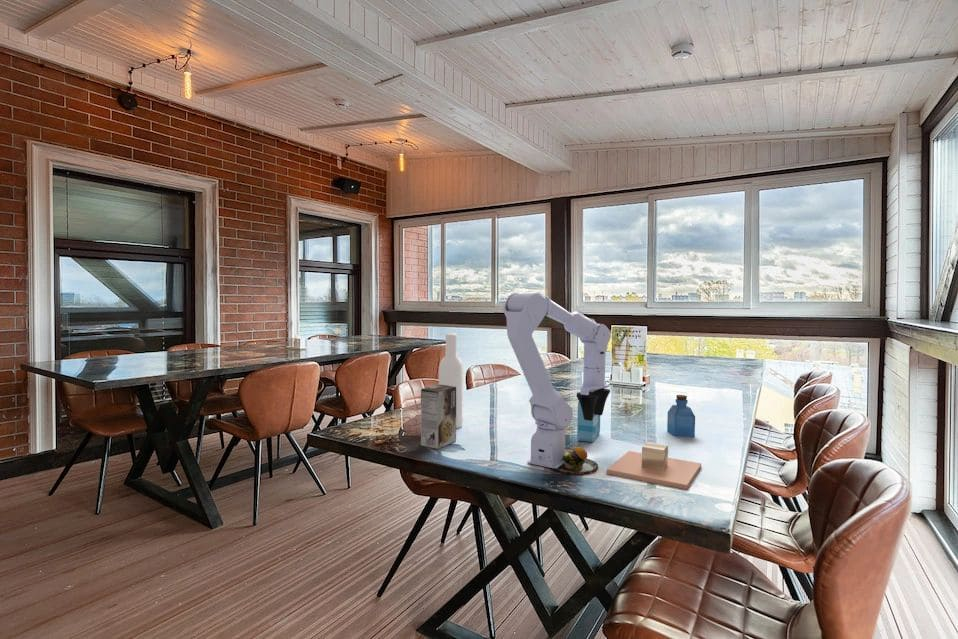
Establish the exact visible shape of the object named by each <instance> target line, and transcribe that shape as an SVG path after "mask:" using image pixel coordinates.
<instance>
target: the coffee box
mask: <svg viewBox="0 0 958 639" xmlns="http://www.w3.org/2000/svg"><path fill="white" fill-rule="evenodd" d="M420 392H421V393H420V395H421V396H420V410H421V411H420V422H421V423H420V446H423V447H428V448H432V449H437V450H440V449H441V448H444V447H445V446H448V445H450V444H453V443H454V442H457V429H456V387H454V386H448V385H439V384H436V385H432V386H427V387H424V388H420Z"/></svg>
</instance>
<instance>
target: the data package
mask: <svg viewBox="0 0 958 639" xmlns="http://www.w3.org/2000/svg"><path fill="white" fill-rule="evenodd" d="M576 422H577V425H576V426H577V428H576V430H577V431H576V433H577V434H576V439H577V441H579V442H584V443H587V442H588V443H594V442H595V440H596V439H597V438H598V437H599V436H600V433H601V415H594V416H593V420H592V421H589V420H584V417H583V412H582V408H581V405H580V402H579V401H578V403H577V420H576Z"/></svg>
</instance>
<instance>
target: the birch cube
mask: <svg viewBox="0 0 958 639" xmlns="http://www.w3.org/2000/svg"><path fill="white" fill-rule="evenodd" d="M641 453H642V467H644V468H649V469H655V470H660V471H664V469H665V468H666V467H667V466H668V458H669V444H664V443H656V442H650V441H647V442H645V443H644V444H643V445H642V446H641Z"/></svg>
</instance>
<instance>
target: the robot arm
mask: <svg viewBox="0 0 958 639" xmlns="http://www.w3.org/2000/svg"><path fill="white" fill-rule="evenodd" d="M502 311H503V313H504V315H505V317H506V330H507V331H506V334H507V335H506V336H507V338H508V340H509V343H510V345H511V347H512V350H513V352H514V354H515V355H514V356H515V357H516V359H517V361H518V363H519V366H520V368H521V372H522V373H523V375H524V378H525V379H526V382H527V384H528V387H529V389H530V392H531V394H532V395H531V397H530V398H529V400H528V402H529V404H530V412H531V413H530V414H531V417H532V418H533V419H534V421H535V425H536V431H535V432H534V433H533V435H532V437H531V439H530V459H528V460H527V464H530V465H531V464H532V465H535V466H541V467H545V468H550V469H555V470H557V469H559V467H561V466H562V465H564V461H563V460H561V459H562V458H564V457H563V456H566V429H568V426H569V425H570V424H571V422H572V419H573V409H572V407H571V406H570V404H569V403H567V402H566V400H565V398H564V396H563V395H561V393H559V392H558V391H557V390H556V389H555V387H554V385H553V384H552V381H551V379H550V376H549V374H548V371H547V369H546V366H545V364H544V362H543V359H542V357H541V354H540V352H539V350H538V347H537V345H536V342H535V340H534V338H533V333H534V332H535V331H536V330H537V328H538V327H539V326H540V324H541V322H542V321H543V319H544V317H545V316H546V317H548V318H549V319H552V320H554V321H556V322H558V323H560V324H563V327H564V330H565V331H566V332H568V333H570V334H571V335H573V336H576V337H577V338H579V341H580V342H581V343H582V344H583V372H582V373H583V376H582V378H583V380H582V383H581V384H582V385H581V387H580V391H578V392H576V398H577V400H578V402H580V405H581V408H582V412H583V417H584V420H589V421H592V420H593V416H594V415H600V416H602V415H603V413H604V409H605V405H606V402H607V399H608V397H609V395H610V393H611V389H609V388H610V384H607V380H606V352H607V350H608V346H609V342H610V341H611V338H612V334H611V333H610V329H609V328H608V327H607V326H606V325H605V324H604V323H597V322H596V320H595V319H594V318H589V317H587V316H586V315H584V312H583V311H582V310H581V311H580V310H577V311H575V310H574V311H572V312H569V311H568V310H567V309H565V308H564V307H562V306H561V305H559V304H558V303H556V302H554V301H553V300H552V299H551V298H550V297H549V296H546V295H544V294H543V293H540V292H533V293H519V292H513V293H511V294H510V295H508V296H507V298H506V300H505V302H504V306H503V308H502ZM556 468H557V469H556Z"/></svg>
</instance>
